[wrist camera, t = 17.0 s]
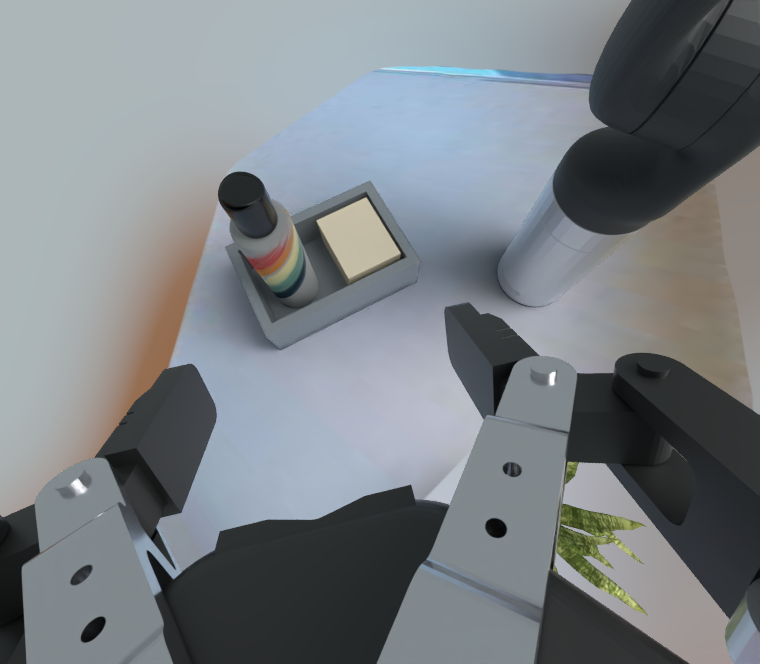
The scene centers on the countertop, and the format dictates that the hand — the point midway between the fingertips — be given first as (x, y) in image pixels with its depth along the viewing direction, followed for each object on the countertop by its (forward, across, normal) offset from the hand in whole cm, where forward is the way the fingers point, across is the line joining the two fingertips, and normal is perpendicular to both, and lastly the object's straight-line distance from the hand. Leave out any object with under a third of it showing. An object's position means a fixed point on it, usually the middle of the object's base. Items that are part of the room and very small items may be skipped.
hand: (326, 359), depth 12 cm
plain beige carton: (+38, -3, +8) cm, 39 cm away
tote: (+38, +2, +10) cm, 39 cm away
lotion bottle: (+36, +6, +10) cm, 38 cm away
